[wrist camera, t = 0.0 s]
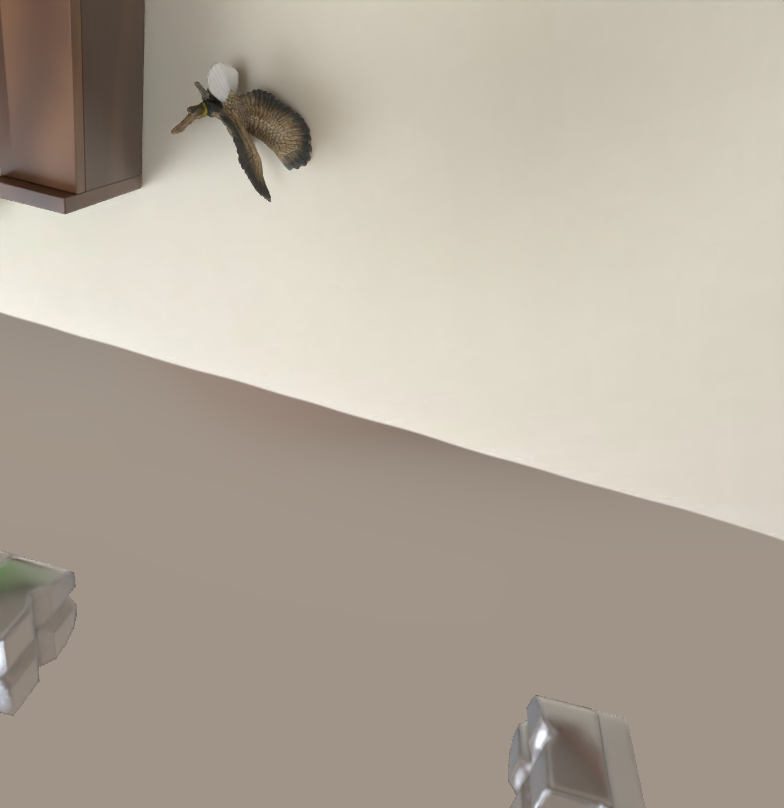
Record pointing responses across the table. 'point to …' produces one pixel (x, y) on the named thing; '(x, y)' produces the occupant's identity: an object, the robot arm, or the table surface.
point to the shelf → (70, 101)
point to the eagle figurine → (252, 123)
